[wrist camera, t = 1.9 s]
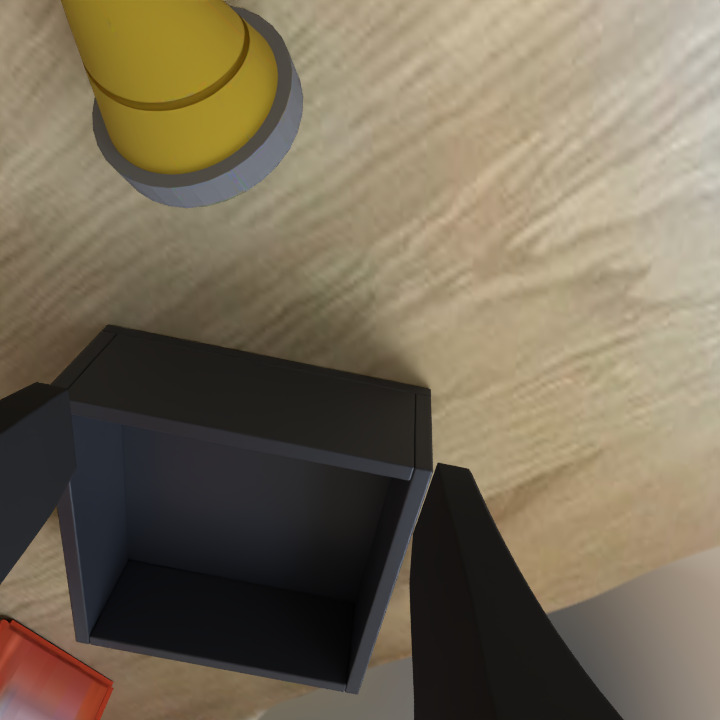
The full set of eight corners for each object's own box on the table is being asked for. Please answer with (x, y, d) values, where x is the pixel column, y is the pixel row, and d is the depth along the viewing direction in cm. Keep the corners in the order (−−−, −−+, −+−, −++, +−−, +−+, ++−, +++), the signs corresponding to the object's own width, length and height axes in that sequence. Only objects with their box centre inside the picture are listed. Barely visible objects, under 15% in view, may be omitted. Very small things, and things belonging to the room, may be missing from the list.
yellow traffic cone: (136, 176, 19) (-202, -165, 9) (264, 73, 19) (56, -367, 10) (225, 289, 17) (-79, 12, 8) (364, 175, 17) (232, -236, 8)
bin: (121, 556, 28) (75, 642, 25) (107, 323, 21) (39, 393, 18) (366, 603, 29) (357, 695, 25) (431, 388, 22) (433, 471, 18)
